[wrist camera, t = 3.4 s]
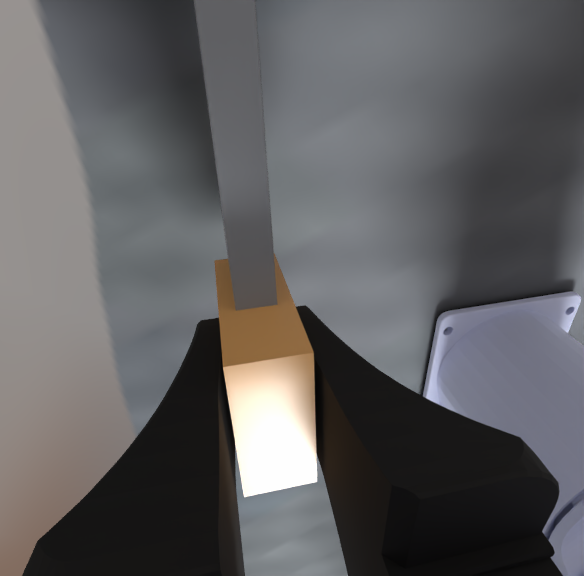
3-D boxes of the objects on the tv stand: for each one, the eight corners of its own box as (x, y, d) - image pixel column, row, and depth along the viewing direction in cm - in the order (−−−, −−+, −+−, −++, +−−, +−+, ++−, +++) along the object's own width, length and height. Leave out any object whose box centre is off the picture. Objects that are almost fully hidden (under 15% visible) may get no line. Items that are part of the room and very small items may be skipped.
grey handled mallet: (281, 357, 14) (317, 481, 10) (230, 365, 14) (244, 496, 10) (236, -263, 7) (286, -714, 3) (134, -271, 7) (37, -770, 3)
